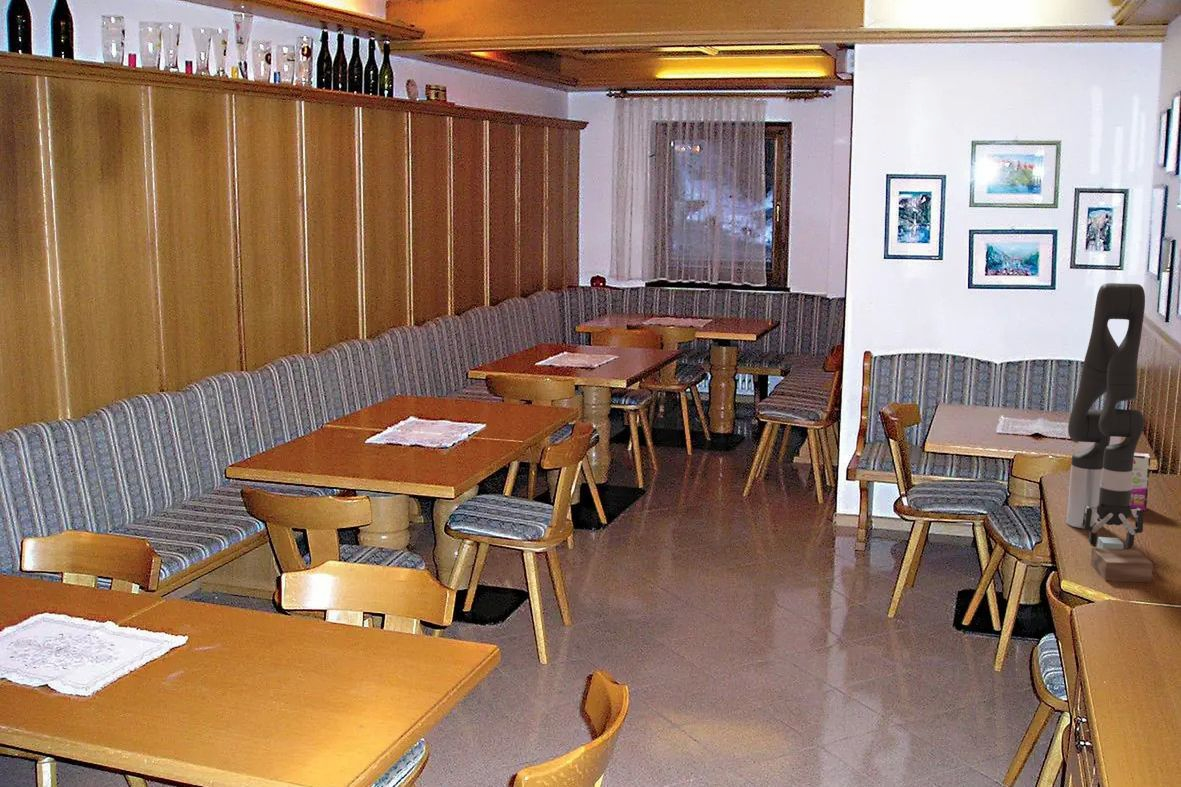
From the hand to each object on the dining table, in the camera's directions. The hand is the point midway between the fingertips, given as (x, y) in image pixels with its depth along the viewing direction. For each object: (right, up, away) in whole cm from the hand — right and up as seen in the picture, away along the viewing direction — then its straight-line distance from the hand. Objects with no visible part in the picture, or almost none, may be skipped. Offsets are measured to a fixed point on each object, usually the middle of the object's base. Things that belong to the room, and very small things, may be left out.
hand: (1110, 546), depth 310 cm
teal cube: (0, -3, +1) cm, 3 cm away
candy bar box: (+25, +6, +48) cm, 55 cm away
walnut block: (-2, -6, -11) cm, 12 cm away
